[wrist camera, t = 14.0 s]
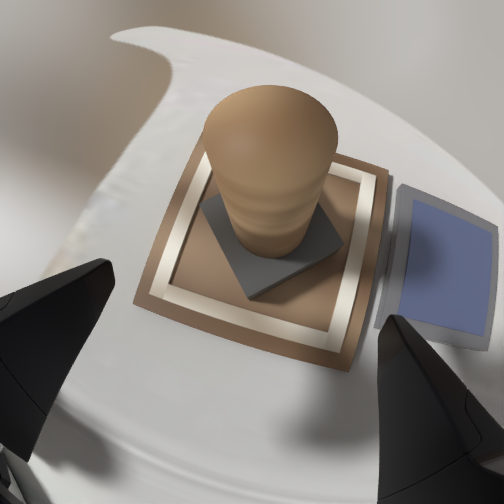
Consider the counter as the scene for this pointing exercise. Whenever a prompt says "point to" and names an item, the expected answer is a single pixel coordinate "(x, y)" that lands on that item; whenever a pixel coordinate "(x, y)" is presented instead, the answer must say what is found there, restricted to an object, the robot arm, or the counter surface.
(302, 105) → the stamp
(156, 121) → the counter surface
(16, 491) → the bowl
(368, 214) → the marked board
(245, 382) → the counter surface
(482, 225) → the ink pad
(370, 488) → the counter surface
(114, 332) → the counter surface
